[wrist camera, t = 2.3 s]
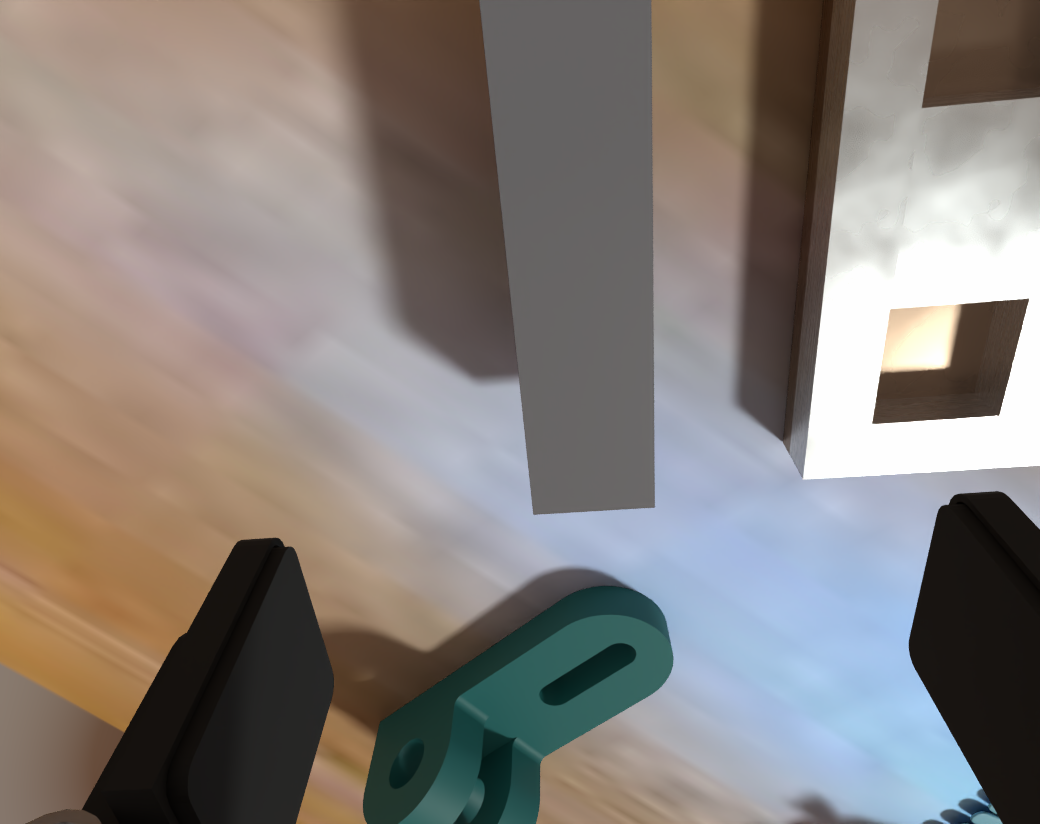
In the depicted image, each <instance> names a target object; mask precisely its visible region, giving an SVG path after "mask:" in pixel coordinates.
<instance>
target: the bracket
mask: <svg viewBox="0 0 1040 824" xmlns="http://www.w3.org/2000/svg"><path fill="white" fill-rule="evenodd" d="M672 667H673V653H672V648H671V643H670V638H669V633H668V628H667V623H666V619H665V617H664V615H663V613H662V611H661V610H660V608H659V607H658V606H657V605H656V604H655V603H654V602H653V601H652V600H651V599H649V598H648V597H646V596H644V595H643V594H641V593H638V592H636V591H633V590H630V589H627V588H622V587H616V586H598V587H591V588H586V589H583V590H579V591H577V592H574V593H572V594H570V595H568V596H566V597H565V598H563V599H562V600H560V601H559V602H557V603H556V604H554V605H553V606H551V607H550V608H548V609H547V610H545V611H544V612H542V613H541V614H539V615H538V616H536V617H535V618H533V619H532V620H530V621H529V622H528V623H526V624H525V625H523V626H522V627H520V628H519V629H517V630H516V631H514V632H513V633H511V634H510V635H508V636H507V637H505V638H504V639H502V640H501V641H499V642H498V643H496V644H495V645H493V646H492V647H490V648H489V649H487V650H486V651H485V652H483V653H482V654H480V655H479V656H477V657H476V658H474V659H473V660H471V661H470V662H468V663H467V664H465V665H464V666H462V667H461V668H459V669H458V670H456V671H455V672H453V673H452V674H450V675H449V676H447V677H446V678H445V679H443V680H442V681H440V682H439V683H437V684H436V685H434V686H433V687H431V688H430V689H428V690H427V691H425V692H424V693H422V694H421V695H419V696H418V697H416V698H415V699H413V700H412V701H410V702H409V703H407V704H406V705H404V706H403V707H402V708H400V709H399V710H397V711H396V712H394V713H393V714H391V715H390V716H388V717H387V718H385V719H384V720H382V721H381V722H380V724H379V729H378V733H377V738H376V742H375V747H374V751H373V756H372V760H371V765H370V769H369V774H368V778H367V783H366V787H365V792H364V799H363V813H364V818H365V820H366V822H367V824H536V821H537V817H538V812H539V804H540V763H541V761H542V759H543V758H544V757H545V756H547V755H548V754H550V753H552V752H553V751H555V750H557V749H559V748H560V747H562V746H564V745H565V744H567V743H569V742H571V741H572V740H574V739H576V738H578V737H579V736H581V735H583V734H584V733H586V732H588V731H590V730H591V729H593V728H595V727H596V726H598V725H600V724H602V723H603V722H605V721H607V720H608V719H610V718H612V717H614V716H615V715H617V714H619V713H620V712H622V711H624V710H626V709H627V708H629V707H631V706H633V705H634V704H636V703H638V702H639V701H641V700H643V699H645V698H646V697H648V696H650V695H651V694H653V693H654V692H655V691H657V690H658V689H659V688H660V687H661V686H662V685H663V684H664V683H665V681H666V680H667V678H668V677H669V675H670V673H671V670H672Z"/></svg>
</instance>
